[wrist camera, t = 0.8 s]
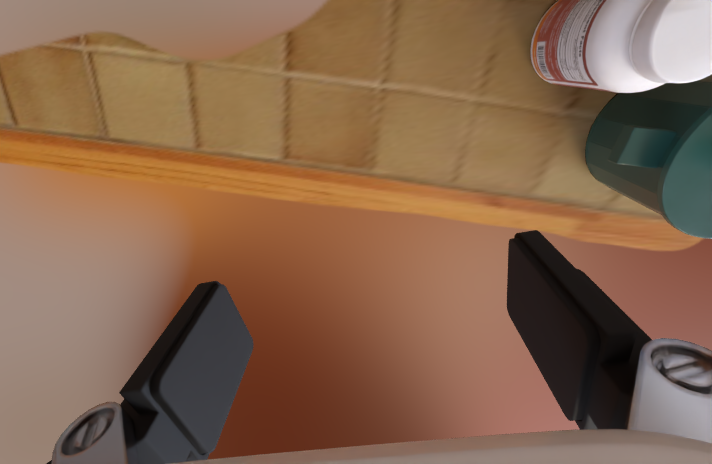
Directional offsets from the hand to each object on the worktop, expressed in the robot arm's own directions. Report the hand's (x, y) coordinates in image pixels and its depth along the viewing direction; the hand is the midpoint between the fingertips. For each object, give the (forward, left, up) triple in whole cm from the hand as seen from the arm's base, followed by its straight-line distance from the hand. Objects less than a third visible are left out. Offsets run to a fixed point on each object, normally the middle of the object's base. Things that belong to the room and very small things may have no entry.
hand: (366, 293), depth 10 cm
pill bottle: (-10, +15, -21) cm, 27 cm away
